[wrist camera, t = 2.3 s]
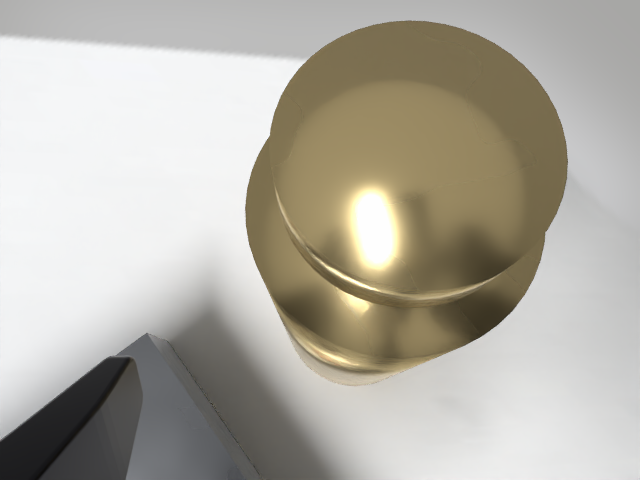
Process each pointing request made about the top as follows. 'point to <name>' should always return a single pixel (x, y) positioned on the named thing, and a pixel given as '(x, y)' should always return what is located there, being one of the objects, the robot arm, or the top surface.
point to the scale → (179, 423)
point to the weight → (403, 197)
